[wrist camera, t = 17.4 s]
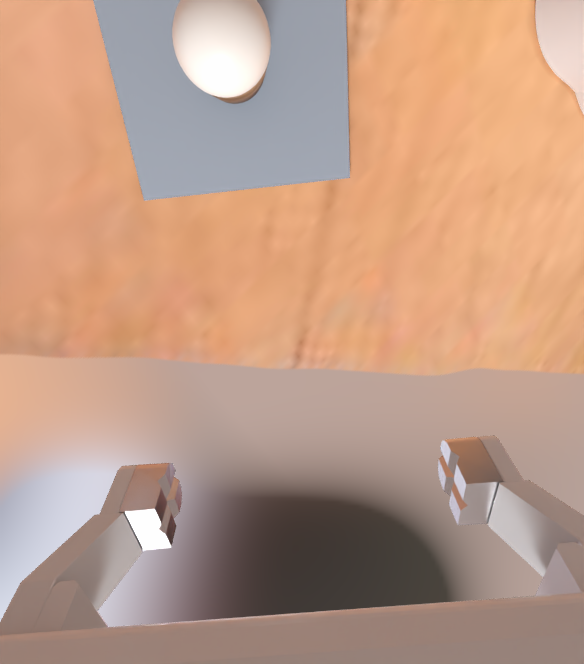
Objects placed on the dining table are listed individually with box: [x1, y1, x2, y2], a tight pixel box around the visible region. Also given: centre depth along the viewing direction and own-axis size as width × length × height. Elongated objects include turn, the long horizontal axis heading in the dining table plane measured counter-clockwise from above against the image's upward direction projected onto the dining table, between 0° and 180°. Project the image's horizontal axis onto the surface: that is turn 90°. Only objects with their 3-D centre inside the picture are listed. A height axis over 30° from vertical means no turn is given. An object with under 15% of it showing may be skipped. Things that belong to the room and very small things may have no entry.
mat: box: [93, 0, 350, 200], centre depth 30 cm, size 18×22×1 cm
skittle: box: [172, 0, 271, 104], centre depth 25 cm, size 5×5×14 cm
